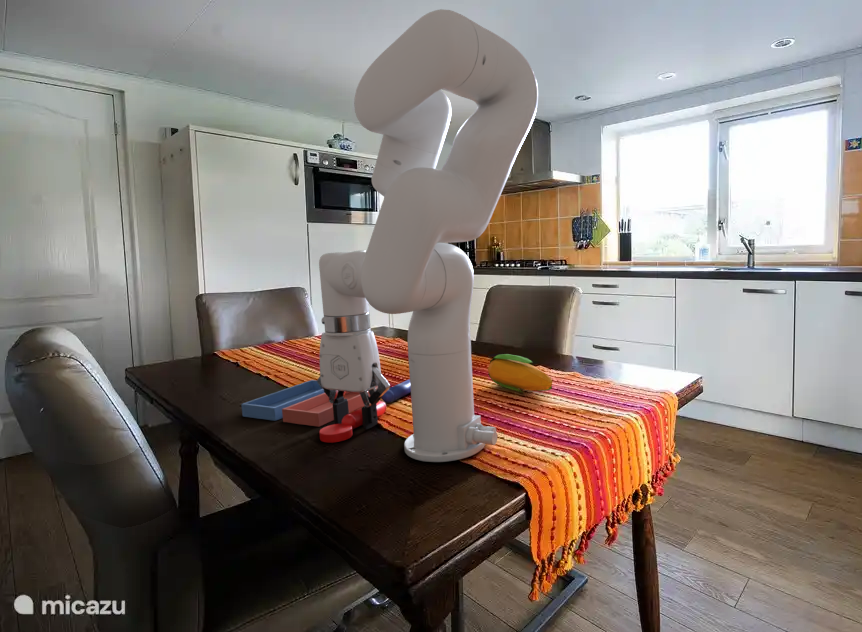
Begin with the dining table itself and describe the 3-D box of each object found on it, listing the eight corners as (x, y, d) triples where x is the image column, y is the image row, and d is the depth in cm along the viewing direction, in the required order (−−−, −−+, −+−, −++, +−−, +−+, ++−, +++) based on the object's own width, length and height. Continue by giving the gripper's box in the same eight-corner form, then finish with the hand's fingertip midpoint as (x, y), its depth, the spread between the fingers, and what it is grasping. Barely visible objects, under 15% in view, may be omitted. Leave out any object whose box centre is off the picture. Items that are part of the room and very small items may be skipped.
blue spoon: (395, 405, 101) (394, 392, 101) (374, 403, 103) (373, 390, 103) (436, 385, 115) (435, 373, 115) (417, 383, 117) (416, 371, 117)
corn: (504, 346, 117) (565, 359, 102) (507, 377, 119) (568, 395, 103) (478, 353, 113) (537, 368, 97) (481, 386, 114) (540, 405, 99)
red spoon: (373, 411, 98) (371, 397, 98) (395, 413, 96) (394, 399, 96) (313, 440, 84) (311, 424, 84) (337, 444, 82) (336, 427, 82)
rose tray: (382, 397, 107) (381, 386, 107) (319, 426, 91) (317, 413, 90) (350, 394, 111) (349, 383, 110) (283, 421, 94) (281, 408, 94)
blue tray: (343, 393, 111) (342, 382, 111) (275, 420, 95) (274, 408, 95) (312, 390, 115) (311, 379, 115) (242, 416, 98) (241, 403, 98)
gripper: (293, 326, 88) (303, 427, 90) (374, 329, 81) (382, 438, 83) (324, 319, 94) (333, 413, 97) (402, 322, 88) (409, 422, 90)
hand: (356, 423), depth 90 cm, fingers open, 5 cm apart
